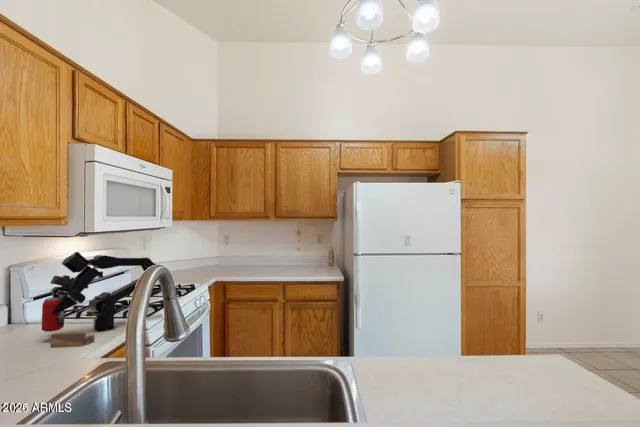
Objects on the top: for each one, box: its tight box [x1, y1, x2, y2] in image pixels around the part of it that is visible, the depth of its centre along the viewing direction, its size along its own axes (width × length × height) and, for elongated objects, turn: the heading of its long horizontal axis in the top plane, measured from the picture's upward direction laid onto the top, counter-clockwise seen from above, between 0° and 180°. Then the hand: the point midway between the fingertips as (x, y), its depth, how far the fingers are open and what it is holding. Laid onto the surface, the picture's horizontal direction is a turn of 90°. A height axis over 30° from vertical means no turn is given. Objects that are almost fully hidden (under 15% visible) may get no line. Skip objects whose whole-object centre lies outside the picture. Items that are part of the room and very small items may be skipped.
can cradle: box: [50, 332, 95, 348], centre depth 122 cm, size 6×12×4 cm, turn 93°
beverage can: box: [41, 297, 66, 333], centre depth 128 cm, size 7×7×12 cm
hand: (49, 313), depth 127 cm, fingers closed on beverage can, 7 cm apart
